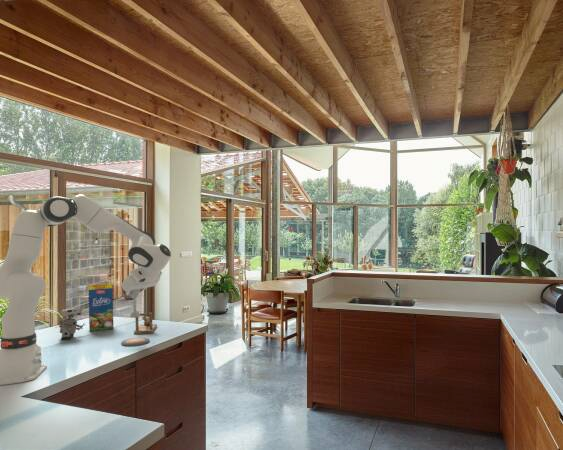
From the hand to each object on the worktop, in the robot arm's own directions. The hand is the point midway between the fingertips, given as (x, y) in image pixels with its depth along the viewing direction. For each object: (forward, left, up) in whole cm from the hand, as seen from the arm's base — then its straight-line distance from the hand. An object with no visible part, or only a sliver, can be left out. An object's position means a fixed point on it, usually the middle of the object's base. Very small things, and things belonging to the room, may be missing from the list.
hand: (133, 292), depth 209 cm
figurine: (+27, +29, -24) cm, 46 cm away
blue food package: (+40, +15, -24) cm, 49 cm away
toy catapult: (+24, -7, -24) cm, 34 cm away
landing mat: (0, 0, -24) cm, 24 cm away
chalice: (0, 0, -11) cm, 11 cm away
